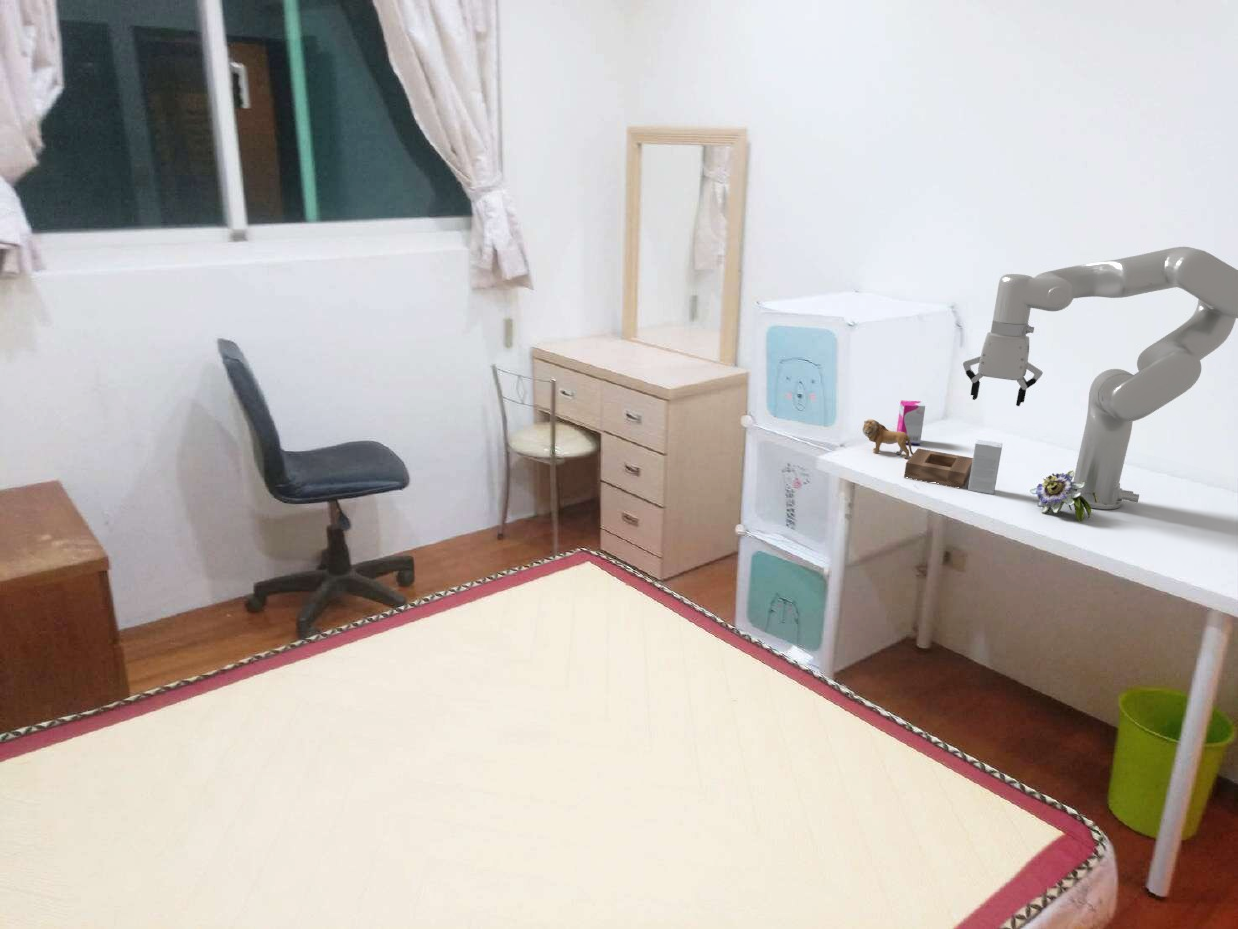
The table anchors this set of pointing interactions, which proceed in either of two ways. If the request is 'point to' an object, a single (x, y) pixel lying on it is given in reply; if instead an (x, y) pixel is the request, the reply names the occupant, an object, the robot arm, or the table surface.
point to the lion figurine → (886, 437)
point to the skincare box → (985, 466)
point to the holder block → (939, 468)
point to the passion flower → (1062, 494)
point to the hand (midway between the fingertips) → (996, 401)
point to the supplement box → (911, 420)
